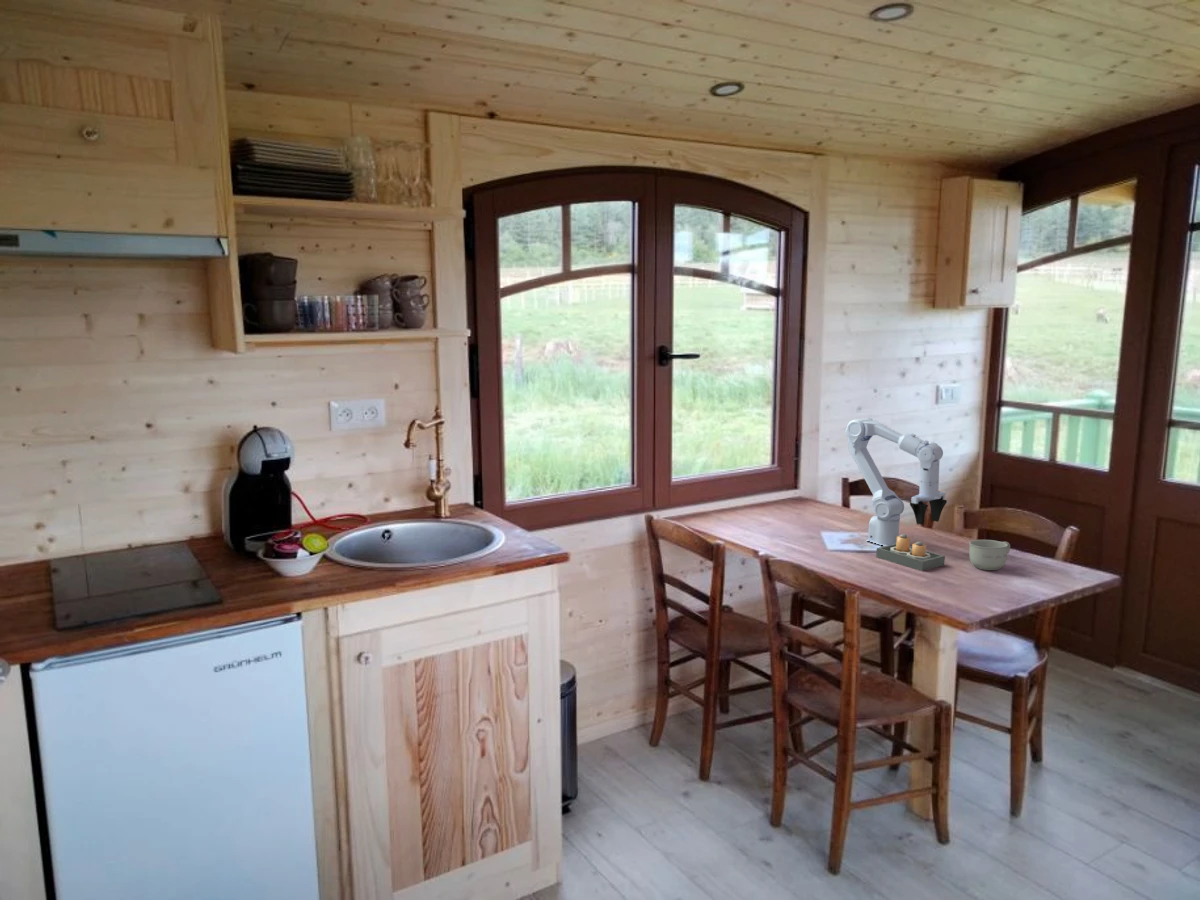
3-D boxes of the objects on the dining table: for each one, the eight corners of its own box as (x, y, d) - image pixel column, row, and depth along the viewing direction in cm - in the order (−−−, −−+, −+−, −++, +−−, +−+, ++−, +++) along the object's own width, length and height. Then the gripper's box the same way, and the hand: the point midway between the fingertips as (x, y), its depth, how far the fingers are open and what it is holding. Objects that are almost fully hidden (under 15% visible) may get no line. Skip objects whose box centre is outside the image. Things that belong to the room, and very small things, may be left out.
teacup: (982, 574, 249) (984, 548, 248) (959, 563, 260) (961, 538, 258) (1022, 571, 252) (1025, 546, 251) (999, 561, 262) (1001, 536, 261)
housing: (876, 557, 266) (877, 536, 264) (898, 551, 272) (899, 531, 270) (922, 571, 252) (923, 549, 250) (944, 565, 258) (945, 544, 256)
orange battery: (892, 555, 264) (894, 534, 263) (900, 553, 266) (902, 532, 265) (903, 558, 261) (904, 537, 260) (911, 556, 263) (913, 535, 262)
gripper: (925, 485, 260) (923, 528, 262) (954, 480, 268) (952, 521, 269) (906, 482, 266) (905, 523, 268) (935, 477, 273) (933, 517, 275)
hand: (927, 522), depth 269 cm, fingers open, 7 cm apart
